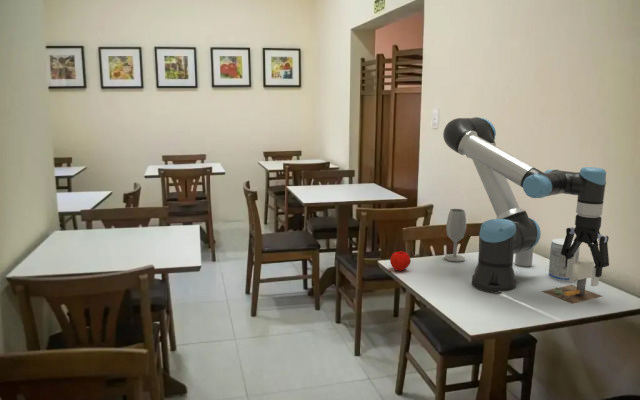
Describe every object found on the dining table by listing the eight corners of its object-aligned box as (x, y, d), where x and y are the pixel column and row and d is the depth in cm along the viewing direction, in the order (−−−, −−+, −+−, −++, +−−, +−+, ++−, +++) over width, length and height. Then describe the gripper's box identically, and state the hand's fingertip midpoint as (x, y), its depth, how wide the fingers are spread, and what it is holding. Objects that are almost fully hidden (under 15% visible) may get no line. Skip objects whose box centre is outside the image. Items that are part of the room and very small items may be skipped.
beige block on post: (568, 298, 168) (572, 266, 166) (562, 296, 171) (565, 264, 169) (592, 293, 173) (596, 261, 171) (585, 290, 176) (588, 259, 174)
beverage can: (533, 268, 204) (535, 238, 202) (516, 266, 205) (518, 237, 203) (530, 263, 210) (532, 234, 208) (513, 262, 211) (515, 233, 209)
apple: (405, 274, 195) (406, 256, 193) (386, 271, 199) (386, 252, 197) (413, 269, 202) (413, 250, 200) (394, 265, 205) (394, 247, 204)
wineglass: (467, 262, 210) (470, 212, 206) (446, 262, 210) (449, 212, 206) (462, 256, 219) (465, 207, 215) (441, 256, 219) (444, 207, 215)
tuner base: (572, 306, 165) (572, 301, 165) (541, 294, 176) (541, 289, 176) (602, 299, 172) (603, 294, 172) (571, 287, 183) (571, 283, 182)
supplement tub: (562, 274, 197) (565, 237, 194) (582, 282, 188) (586, 243, 185) (542, 277, 193) (545, 239, 190) (561, 285, 184) (565, 246, 182)
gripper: (628, 220, 160) (619, 289, 164) (568, 208, 179) (561, 270, 183) (612, 223, 157) (604, 293, 161) (553, 209, 175) (547, 273, 180)
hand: (581, 281), depth 172 cm, fingers open, 9 cm apart
